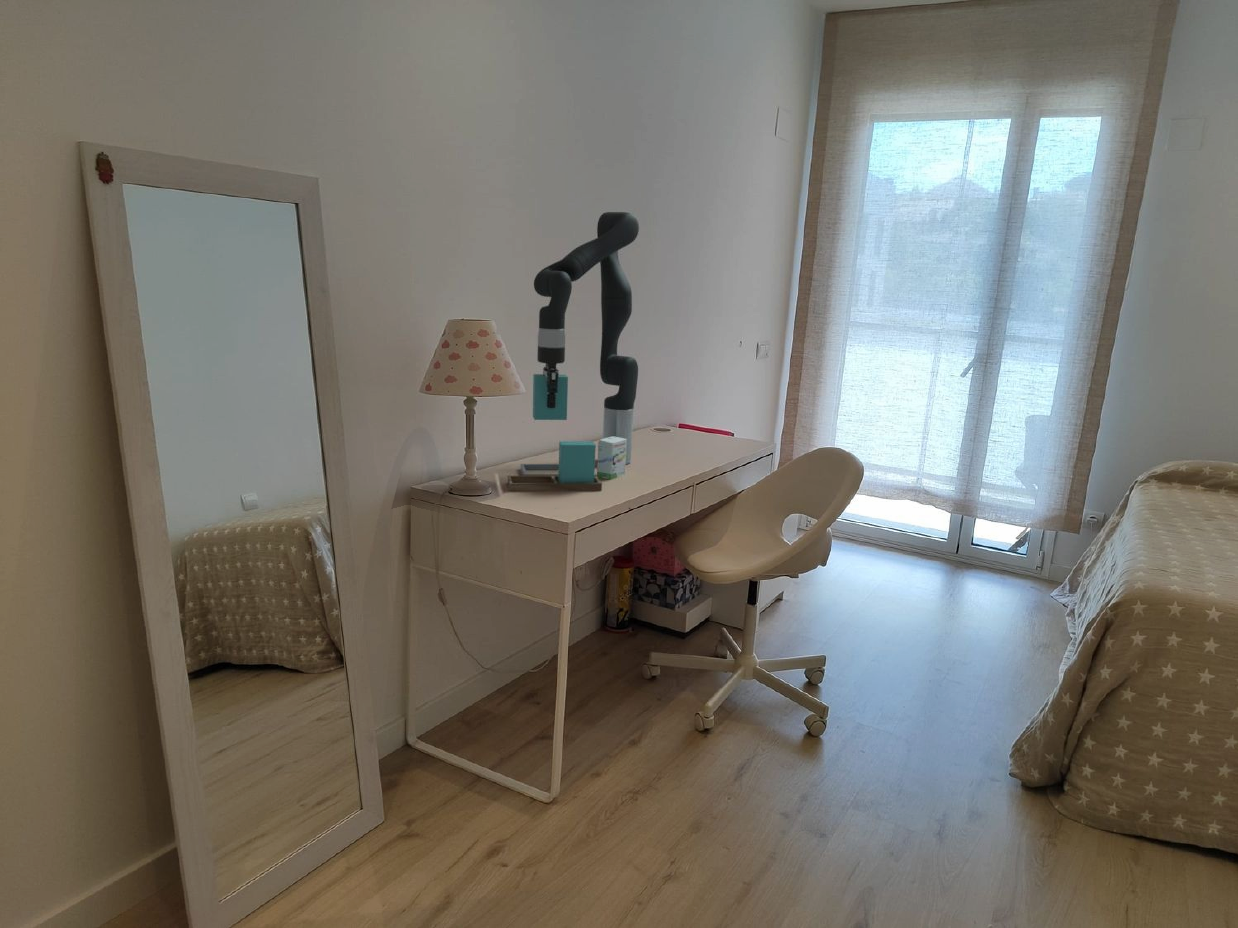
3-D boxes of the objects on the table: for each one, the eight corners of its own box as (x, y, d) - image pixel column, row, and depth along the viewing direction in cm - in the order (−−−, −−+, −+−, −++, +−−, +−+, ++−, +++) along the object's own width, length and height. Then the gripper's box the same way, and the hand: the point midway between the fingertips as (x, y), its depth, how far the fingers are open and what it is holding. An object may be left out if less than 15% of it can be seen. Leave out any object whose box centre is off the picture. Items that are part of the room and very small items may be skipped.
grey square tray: (520, 472, 233) (520, 464, 232) (570, 472, 236) (570, 464, 235) (524, 483, 221) (524, 474, 220) (576, 482, 224) (576, 474, 223)
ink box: (610, 483, 226) (612, 442, 223) (595, 480, 228) (597, 440, 225) (625, 477, 233) (627, 438, 230) (611, 475, 235) (613, 435, 233)
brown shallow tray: (507, 486, 217) (507, 475, 216) (595, 485, 222) (596, 475, 221) (509, 494, 209) (509, 483, 208) (601, 494, 214) (601, 483, 213)
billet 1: (532, 416, 226) (533, 374, 223) (564, 416, 228) (565, 374, 225) (534, 419, 221) (535, 376, 219) (566, 419, 223) (567, 377, 220)
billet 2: (558, 484, 218) (559, 441, 215) (590, 484, 219) (592, 441, 217) (560, 489, 213) (561, 445, 210) (593, 488, 215) (595, 445, 212)
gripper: (568, 348, 214) (566, 410, 218) (561, 343, 228) (559, 402, 232) (540, 347, 212) (539, 410, 216) (535, 342, 226) (533, 402, 230)
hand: (549, 405), depth 224 cm, fingers closed on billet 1, 5 cm apart
